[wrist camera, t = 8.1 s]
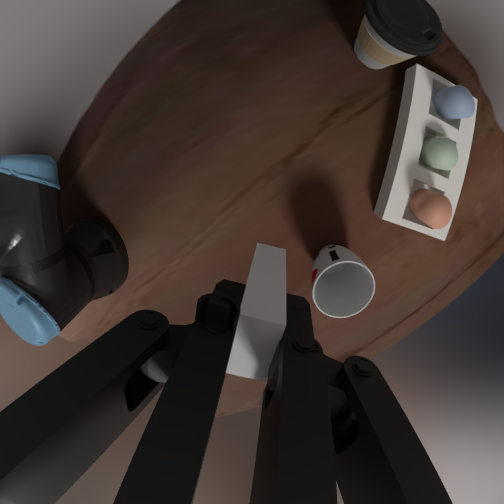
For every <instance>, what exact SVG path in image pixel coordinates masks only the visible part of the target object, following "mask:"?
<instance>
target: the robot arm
mask: <svg viewBox="0 0 504 504" xmlns="http://www.w3.org/2000/svg"><path fill="white" fill-rule="evenodd" d="M128 268H129V263H128V256H127V252H126V249H125V246H124V244H123V242H122V240H121V238H120V236H119V235H118V234H117V232H116V231H115V230H114V229H113V228H112V227H111V226H110V225H109V224H107V223H106V222H104V221H103V220H101V219H98V218H94V217H87V218H83V219H81V220H79V221H77V222H75V223H73V224H72V225H71V226H70V227H69V228H68V229H67V231H66V232H65V234H64V232H63V225H62V217H61V205H60V185H59V181H58V170H57V163H56V161H55V160H54V158H52V157H51V156H48V155H38V154H37V155H36V154H33V155H31V154H28V155H27V154H26V155H8V156H3V157H2V156H0V314H1V315H2V317H3V318H4V320H5V321H6V322H7V324H8V325H9V326H10V327H11V329H13V331H14V332H15V333H16V334H17V335H18V336H20V337H21V338H23V339H24V340H25V341H27V342H28V343H30V344H33V345H37V346H41V345H45V344H46V343H48V342H49V341H50V340H51V339H52V338H53V337H54V336H56V335H58V334H59V333H60V332H61V330H62V329H63V328H64V327H65V326H66V325H67V324H68V323H69V322H70V321H71V320H72V319H73V318H74V317H75V316H76V315H77V314H78V313H79V312H80V311H81V310H82V309H83V308H84V307H85V306H86V305H87V304H88V303H89V302H90V301H92V300H95V299H98V298H101V297H104V296H107V295H110V294H112V293H114V292H115V291H116V290H117V289H118V288H119V287H120V286H121V285H122V284H123V283H124V282H125V280H126V277H127V274H128ZM226 373H229V374H234V375H238V376H242V377H247V378H251V379H256V380H261V381H265V380H266V378H267V375H268V381H267V385H266V387H265V390H264V392H263V395H262V397H261V399H260V402H259V404H261V405H262V411H261V419H260V428H259V436H258V444H257V452H256V460H255V467H254V476H253V482H252V490H251V496H250V503H249V504H337V490H336V481H337V484H338V487H339V490H340V493H341V496H342V499H343V502H344V504H452V501H451V499H450V497H449V495H448V493H447V491H446V489H445V487H444V485H443V483H442V481H441V479H440V477H439V475H438V473H437V471H436V469H435V467H434V466H433V464H432V462H431V460H430V458H429V456H428V455H427V453H426V450H425V449H424V447H423V445H422V443H421V441H420V440H419V438H418V436H417V434H416V432H415V430H414V429H413V427H412V425H411V424H410V422H409V420H408V418H407V416H406V415H405V413H404V411H403V410H402V408H401V406H400V404H399V403H398V401H397V399H396V397H395V396H394V394H393V392H392V391H391V389H390V387H389V386H388V384H387V382H386V381H385V379H384V377H383V376H382V374H381V372H380V371H379V369H378V368H377V366H376V365H375V364H374V363H373V362H371V361H370V360H369V359H367V358H364V357H361V356H351V357H348V358H347V359H346V360H345V361H344V363H342V362H339V361H337V360H334V359H332V358H330V357H328V356H326V355H324V354H323V350H322V347H321V345H320V344H319V343H318V341H317V340H315V339H314V333H313V325H312V319H311V311H310V304H309V303H308V302H307V300H306V299H305V298H304V297H300V296H296V295H291V294H287V293H286V250H285V249H281V248H277V247H273V246H269V245H265V244H261V243H257V247H256V250H255V254H254V258H253V262H252V266H251V269H250V273H249V277H248V281H247V284H246V285H245V284H241V283H237V282H233V281H229V280H225V279H224V280H222V281H220V282H219V283H217V284H216V287H215V289H214V291H213V293H212V294H206V295H203V296H201V297H200V298H199V299H198V302H197V309H196V317H195V322H194V323H192V324H188V325H171V324H169V321H168V319H167V318H166V316H164V315H163V314H161V313H160V312H157V311H154V310H140V311H137V312H135V313H132V314H131V315H130V316H128V317H127V318H125V319H124V320H123V321H121V322H120V323H118V324H117V325H116V326H114V327H113V328H112V329H110V330H109V331H107V332H106V333H105V334H103V335H102V336H101V337H99V338H98V339H96V340H95V341H94V342H92V343H91V344H90V345H88V346H87V347H85V348H84V349H83V350H81V351H80V352H79V353H77V354H76V355H75V356H73V357H72V358H71V359H69V360H68V361H66V362H65V363H64V364H62V365H61V366H60V367H58V368H57V369H56V370H54V371H53V372H52V373H50V374H49V375H48V376H47V377H45V378H44V379H43V380H41V381H40V382H38V383H37V384H36V385H35V386H33V387H32V388H31V389H29V390H28V391H27V392H25V393H24V394H23V395H22V396H20V397H19V398H18V399H16V400H15V401H14V402H12V403H11V404H10V405H9V406H7V407H6V408H5V409H3V410H2V411H1V412H0V504H54V503H55V502H56V501H57V500H58V499H59V498H60V497H61V496H62V495H63V494H64V493H65V492H66V491H67V490H68V489H69V488H70V487H71V486H72V485H73V484H74V483H75V482H76V481H77V480H78V479H79V478H80V477H81V476H82V475H83V474H84V473H85V472H86V471H87V469H88V468H89V467H90V466H91V465H92V464H93V463H94V462H95V461H96V460H97V459H98V458H99V457H100V456H101V455H102V454H103V453H104V452H105V450H106V449H107V448H108V447H109V446H110V445H111V444H112V443H113V442H114V441H115V439H117V438H118V436H119V435H120V434H121V433H122V432H123V431H124V430H125V429H126V427H128V426H129V424H130V423H131V422H132V421H133V420H134V419H135V418H136V417H137V416H138V414H139V413H140V412H141V411H142V410H143V409H144V408H145V407H146V406H147V405H148V404H149V402H150V401H151V400H152V399H153V398H154V397H155V396H156V395H157V394H158V392H159V391H160V390H161V389H162V388H163V387H164V388H163V390H162V393H161V395H160V397H159V399H158V402H157V404H156V406H155V408H154V410H153V413H152V415H151V417H150V420H149V422H148V424H147V426H146V428H145V430H144V433H143V435H142V437H141V440H140V442H139V444H138V446H137V449H136V451H135V454H134V456H133V458H132V460H131V463H130V465H129V467H128V470H127V472H126V474H125V477H124V479H123V481H122V484H121V487H120V489H119V491H118V493H117V496H116V498H115V501H114V503H113V504H192V503H193V500H194V496H195V492H196V488H197V484H198V480H199V476H200V472H201V469H202V465H203V461H204V457H205V453H206V449H207V445H208V441H209V437H210V433H211V430H212V426H213V421H214V418H215V414H216V410H217V406H218V402H219V398H220V394H221V390H222V386H223V382H224V378H225V374H226Z"/></svg>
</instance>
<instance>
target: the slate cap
mask: <svg viewBox="0 0 504 504" xmlns="http://www.w3.org/2000/svg"><path fill="white" fill-rule="evenodd" d="M433 104H434V108H435V110H436V111H437V113H438V114H439V115H440V116H441V117H442V118H444V119H458V118H469V117H471V116H472V115H473V114H474V111H475V102H474V99H473V96H472V95H471V93H470V92H469V90H468V89H467V88H465V87H464V86H461V85H456V86H452V87H448V88H445V89H441V90H438V91H436V92H435V94H434V96H433Z"/></svg>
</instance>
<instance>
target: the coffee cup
mask: <svg viewBox="0 0 504 504" xmlns="http://www.w3.org/2000/svg"><path fill="white" fill-rule="evenodd" d="M364 10H365V15H364V18H363V20H362V23H361V26H360V28H359V31H358V37H357V39H356V42H355V45H354V52H355V54H356V56H357V58H358V59H359V60H360V61H361V62H362V63H363V64H364V65H366V66H367V67H370V68H372V69H381V68H384V67H387V66H389V65H394V64H397V63H400V62H402V61H405V60H407V59H410V58H413V57H416V56H426V55H429V54H432V53H433V52H434V51H435V50H436V49H437V48H438V47H439V45H440V43H441V40H442V25H441V22H440V19H439V17H438V15H437V13H436V12H435V11H434V9H433V8H432V7H431V6H430V4H429V3H428V2H427V1H425V0H365V3H364Z"/></svg>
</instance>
